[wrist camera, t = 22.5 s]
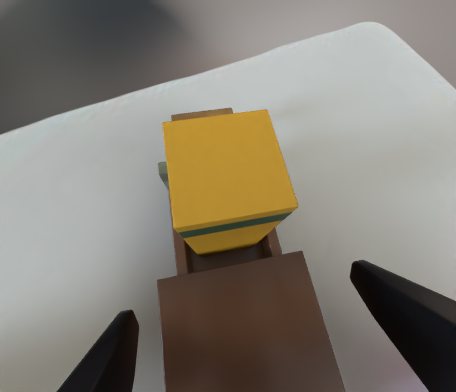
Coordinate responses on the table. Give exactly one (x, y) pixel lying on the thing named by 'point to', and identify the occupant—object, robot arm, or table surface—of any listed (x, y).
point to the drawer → (193, 263)
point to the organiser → (246, 330)
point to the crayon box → (226, 180)
